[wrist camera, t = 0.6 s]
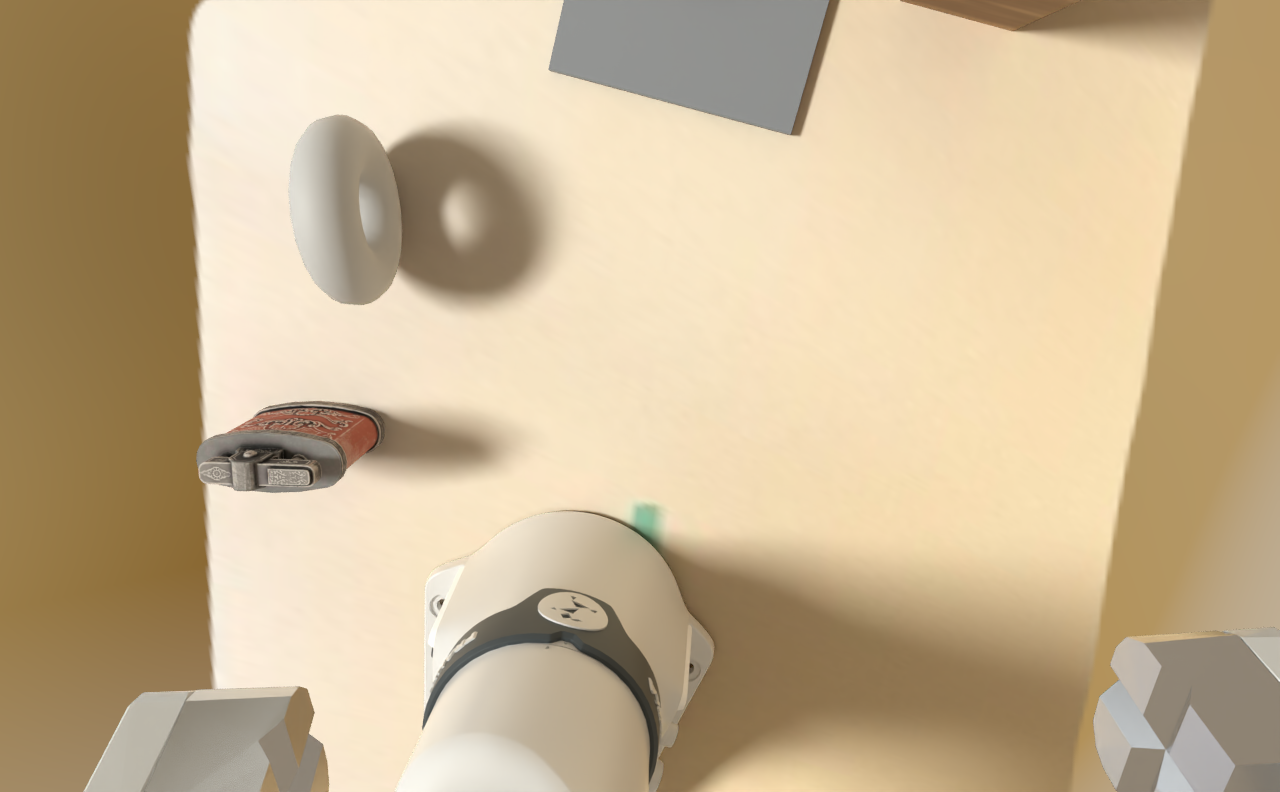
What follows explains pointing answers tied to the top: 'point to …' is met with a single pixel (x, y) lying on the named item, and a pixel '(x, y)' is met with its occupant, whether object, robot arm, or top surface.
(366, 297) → the donut
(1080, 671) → the top surface
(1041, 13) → the block
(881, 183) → the top surface
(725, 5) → the mat
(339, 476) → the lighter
